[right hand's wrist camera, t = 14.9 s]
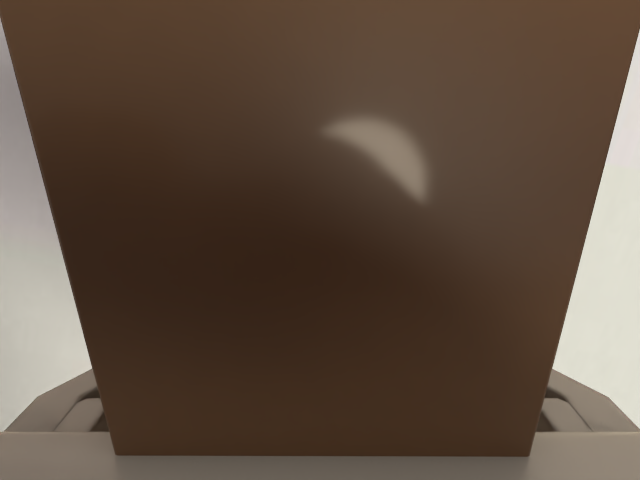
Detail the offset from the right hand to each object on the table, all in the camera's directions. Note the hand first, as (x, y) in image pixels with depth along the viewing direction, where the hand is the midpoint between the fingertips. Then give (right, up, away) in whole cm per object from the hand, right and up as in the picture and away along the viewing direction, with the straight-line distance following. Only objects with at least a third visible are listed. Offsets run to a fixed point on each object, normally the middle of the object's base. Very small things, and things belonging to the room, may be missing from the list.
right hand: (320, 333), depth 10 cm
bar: (0, +10, -1) cm, 10 cm away
